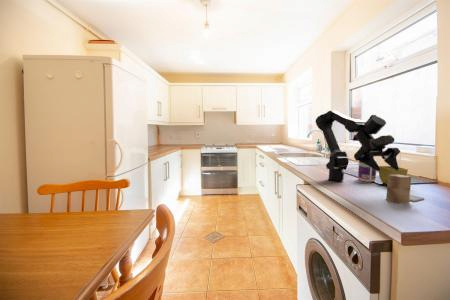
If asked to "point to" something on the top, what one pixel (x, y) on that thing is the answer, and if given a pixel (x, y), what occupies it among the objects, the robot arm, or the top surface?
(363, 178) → the pill bottle
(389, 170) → the flower pot
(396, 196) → the walnut block
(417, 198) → the slate tile
